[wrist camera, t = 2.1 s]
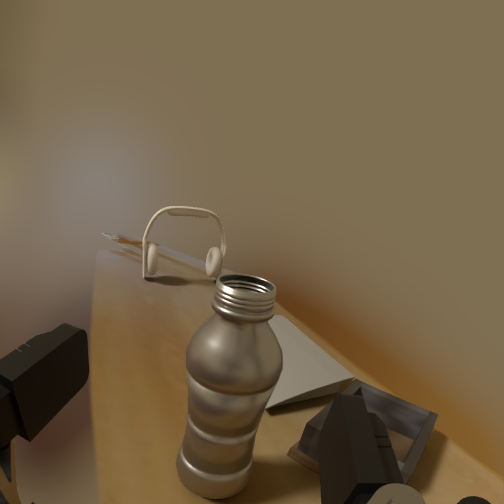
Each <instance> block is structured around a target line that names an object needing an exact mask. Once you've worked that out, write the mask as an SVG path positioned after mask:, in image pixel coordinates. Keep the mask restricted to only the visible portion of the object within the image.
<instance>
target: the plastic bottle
mask: <svg viewBox="0 0 504 504" xmlns="http://www.w3.org/2000/svg"><path fill="white" fill-rule="evenodd" d="M275 296H276V286H275V285H274V284H273V283H272V282H270V281H268V280H266V279H263V278H260V277H257V276H252V275H247V274H239V273H228V274H222V275H220V276H218V277H217V280H216V288H215V295H214V297H213V299H212V308H213V310H214V311H215V313H214V314H213V315H212V316H211V317H210V318H209V319H208V320H207V321H205V322H204V323H203V324H202V325H201V326H200V328H199V329H198V330H197V331H196V332H195V333H194V335H193V336H192V338H191V340H190V342H189V344H188V346H187V349H186V373H187V386H188V416H187V425H186V430H185V434H184V439H183V442H182V444H181V446H180V449H179V452H178V455H177V459H176V468H177V472H178V476H179V478H180V481H181V482H182V483H183V485H184V486H185V487H186V488H187V489H188V490H190V491H191V492H193V493H195V494H197V495H199V496H201V497H205V498H210V499H223V498H228V497H231V496H234V495H236V494H238V493H239V492H240V491H241V490H242V489H243V488H244V487H245V486H246V484H247V483H248V482H249V480H250V478H251V476H252V470H253V449H254V443H255V436H256V432H257V429H258V426H259V423H260V421H261V418H262V415H263V412H264V410H265V407H266V405H267V403H268V401H269V399H270V397H271V395H272V393H273V391H274V389H275V387H276V384H277V382H278V380H279V378H280V375H281V373H282V370H283V352H282V349H281V346H280V344H279V342H278V339H277V337H276V335H275V334H274V332H273V330H272V328H271V327H270V325H269V323H268V320H270V319H272V318H273V315H274V310H275V308H274V302H275Z"/></svg>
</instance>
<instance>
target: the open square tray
mask: <svg viewBox="0 0 504 504" xmlns="http://www.w3.org/2000/svg"><path fill="white" fill-rule="evenodd" d="M342 394H350V395H359V396H362V397H363V399H364V402H365V406H366V409H367V412H369V413H375V414H376V415H377V416H378V417H379V418H380V419H381V420H382V421H383V423H384V424H385V426H386V429H387V432H388V435H389V437H388V438H390V441H391V444H392V448H393V450H394V453H395V456H396V459H397V462H398V465H399V469H400V472H401V475H402V478H403V481H404V485H407V483H408V481H409V479H410V477H411V476H412V474H413V472H414V470H415V468H416V465H417V463H418V461H419V459H420V457H421V455H422V453H423V450H424V448H425V446H426V444H427V441H428V439H429V436H430V434H431V432H432V429H433V427H434V424H435V422H436V419H437V416H438V414H436V413H433V412H431V411H428V410H426V409H424V408H421V407H419V406H416V405H414V404H412V403H409V402H407V401H405V400H402V399H400V398H398V397H395V396H393V395H391V394H389V393H386V392H384V391H382V390H380V389H377V388H375V387H373V386H371V385H368V384H366V383H364V382H362V381H360V380H358V379H355V380H354V381H353V382H352V383H351V384H350V385H349V386H348V387H347V388H346V389H345V390H344V391H343V392H342ZM332 403H333V401H332V402H331V403H329V404H328V405H327V406H326V407H325V408H324V409H323V410H321V411H320V412H319V413H318V414H317V415H316V416H314V417H313V418H312V419H311V420H310V421H309V422H307V423H306V426H305V429H304V431H303V434H302V437H301V439H300V441H298V442H297V443H296V444H295V445H294V446H292V447H291V448H290V449H289V451H288V454H287V455H288V456H290V457H291V458H293V459H295V460H296V461H298V462H300V463H301V464H303V465H305V466H306V467H308V468H310V469H311V470H313V471H315V472H317V473H318V474H320V469H319V454H318V441H319V436H320V432H321V429H322V427H323V424H324V422H325V420H326V417H327V415H328V412H329V410H330V408H331V405H332Z"/></svg>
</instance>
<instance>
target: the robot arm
mask: <svg viewBox="0 0 504 504" xmlns="http://www.w3.org/2000/svg"><path fill="white" fill-rule="evenodd" d="M88 375H89V360H88V342H87V334H86V332H85V330H82V329H80V328H77V327H75V326H72V325H69V324H67V323H64V324H62V325H60V326H59V327H57V328H56V329H54V330H53V331H51V332H47V333H44V334H40V335H37V336H35V337H34V338H32V339H30V340H29V341H27V342H26V344H23V345H21V346H20V347H18V349H17V350H16V349H15V350H14V351H12V352H11V353H9V354H8V355H6V356H5V357H4V358H2V359H1V360H0V504H21V501H20V499H19V496H18V492H17V482H16V466H15V443H14V440H13V438H14V437H15V436H16V435H17V434H18V435H19V436H21V437H23V438H24V439H26V440H28V441H29V442H31V441H32V440H33V438H34V437H35V436H36V435H37V434H38V433H39V432H40V431H41V430H42V429H43V428H44V427H45V426H46V425H47V424H48V423H49V422H50V421H51V420H52V418H53V417H54V416H55V415H56V414H57V413H58V412H59V411H60V410H61V409H62V408H63V407H64V406H65V405H66V404H67V403H68V402H69V401H70V399H72V398H73V397H74V395H76V393H77V392H78V391H79V390H80V389H81V388H82V387H83V386H84V385H85V383H86V381H87V379H88ZM388 437H389V435H388V432H387V429H386V426H385V424H384V423H383V421H382V420H381V419H380V418H379V417H378V416H377V415H376V414H375V413H369V412H367V409H366V406H365V402H364V399H363V397H362V396H359V395H350V394H342V393H337V394H336V396H335V398H334V400H333V403H332V405H331V408H330V410H329V412H328V415H327V417H326V420H325V422H324V424H323V427H322V429H321V432H320V436H319V441H318V454H319V469H320V485H321V503H322V504H425V501H424V499H423V497H422V495H421V494H420V493H419V492H418V491H417V490H415V489H414V488H412V487H410V486H407V485H404V481H403V478H402V475H401V472H400V469H399V465H398V462H397V459H396V456H395V453H394V450H393V448H392V444H391V441H390V438H388ZM31 504H35V503H33V502H32V503H31ZM457 504H491V503H489V502H488V501H487V500H485V499H483V498H481V497H476V496H470V497H466V498H463V499H462V500H460V501H459V502H458V503H457Z"/></svg>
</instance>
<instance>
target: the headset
mask: <svg viewBox="0 0 504 504" xmlns="http://www.w3.org/2000/svg"><path fill="white" fill-rule="evenodd" d="M164 212H167V213H168V214H169V215H172V216H190V217H191V216H192V217H200V218H208V217H210V216H212V217H214V218H215V219H216V221H217V223H218V225H219V228H220V231H221V239H222V245H221V249H219V248H217V247H213V248H211V249H210V250H209V252H208V255H207V260H206V273H207V275H208V276H209V277H211V278H213V279H214V280H217V277H218V276H220V275H221V272H222V268H223V263H224V259H225V254H226V238H225V231H224V227H223V224H222V222H221V220H220V218H219V217H218V216H217V215H216V214H215V213H213V212H211V211H209V210H206V209H202V208H195V207H185V206H171V207H166V208H163V209H161V210H159V211H158V212H157V213H156V214H155V215H154V216H153V217H152V219H151V220H150V222H149V224H148V226H147V228H146V231H145V234H144V237H143V278H145V273H146V263H147V271H148V274H150V275H154V274H156V272H157V264H158V256H157V246H156V244H155V243H149V244H148V246H147V237H148V234H149V231H150V229H151V227H152V225H153V223H154V221H155V220H156V219H157V218H158V217H159V216H160V215H161V214H162V213H164ZM146 248H147V253H146Z"/></svg>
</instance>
